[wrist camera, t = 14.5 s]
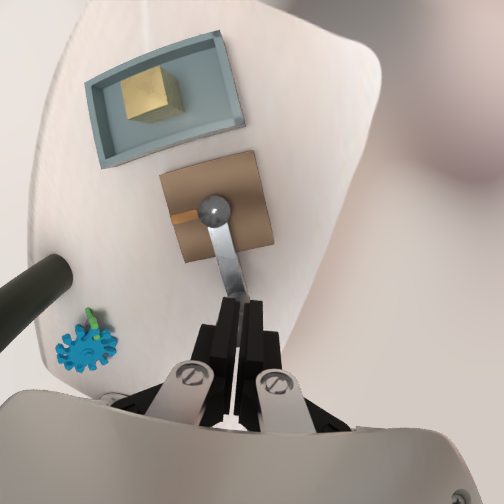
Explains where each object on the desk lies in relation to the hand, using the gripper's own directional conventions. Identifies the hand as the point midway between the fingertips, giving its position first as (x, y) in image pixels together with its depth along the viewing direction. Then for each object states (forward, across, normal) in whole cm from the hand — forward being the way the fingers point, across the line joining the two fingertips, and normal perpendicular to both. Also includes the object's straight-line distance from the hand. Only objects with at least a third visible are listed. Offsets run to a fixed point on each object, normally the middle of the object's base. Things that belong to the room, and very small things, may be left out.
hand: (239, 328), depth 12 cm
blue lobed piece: (+21, +22, +20) cm, 36 cm away
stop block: (+20, +11, -12) cm, 26 cm away
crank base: (+21, +4, -1) cm, 21 cm away
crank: (+18, +2, +4) cm, 19 cm away
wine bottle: (+21, +27, +10) cm, 36 cm away
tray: (+21, +11, -13) cm, 26 cm away
